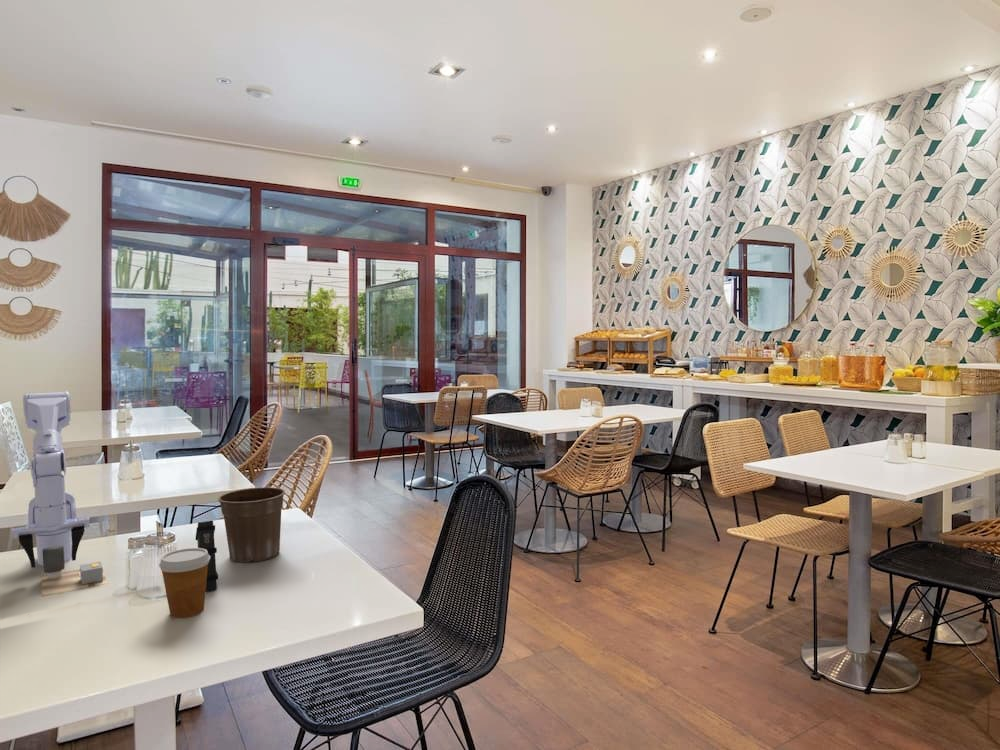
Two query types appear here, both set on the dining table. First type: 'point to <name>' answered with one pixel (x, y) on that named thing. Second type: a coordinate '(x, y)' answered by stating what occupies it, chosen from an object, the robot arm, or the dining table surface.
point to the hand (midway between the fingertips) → (53, 562)
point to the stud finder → (91, 572)
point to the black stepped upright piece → (207, 542)
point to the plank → (66, 583)
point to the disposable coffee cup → (185, 580)
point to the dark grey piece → (53, 561)
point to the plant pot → (252, 522)
